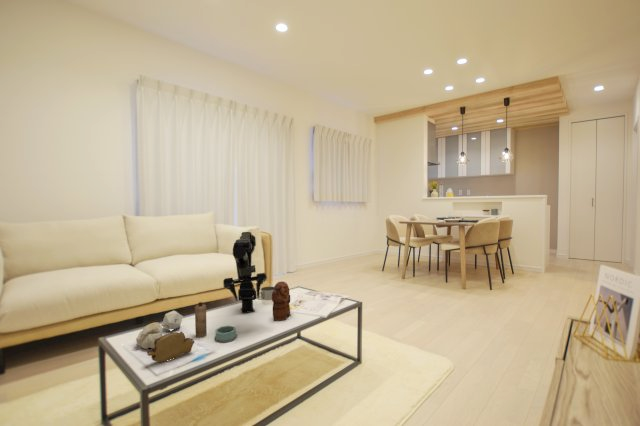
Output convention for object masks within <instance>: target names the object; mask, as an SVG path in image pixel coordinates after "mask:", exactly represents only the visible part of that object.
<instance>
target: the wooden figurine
mask: <svg viewBox="0 0 640 426" xmlns="http://www.w3.org/2000/svg"><path fill="white" fill-rule="evenodd" d="M271 302H272V303H273V304H272V318H273V321H276V322H280V321H286V320H287V319H288V318H289V317H290V315H291V307H290V303H291V294H290V288H289V285H288V283H287V282H286V281H278V282H276V284H275V285H274V288H273V290H272V292H271Z"/></svg>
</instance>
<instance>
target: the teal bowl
mask: <svg viewBox="0 0 640 426" xmlns="http://www.w3.org/2000/svg"><path fill="white" fill-rule="evenodd" d="M214 331H215V332H214V333H215V335H214V341H215V342H216V343H219V344H221V343H223V344H227V343H231V342H233V341H235V340H237V338H238V334H237V329H236V326H232V325H224V326H220V327H218V328H216V329H214Z"/></svg>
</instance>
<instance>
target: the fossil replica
mask: <svg viewBox="0 0 640 426" xmlns="http://www.w3.org/2000/svg"><path fill="white" fill-rule="evenodd" d="M161 325H162V324H160V323H159V322H158V321H156V322H155V321H154V322H152V323H151V322H150V323H149V324H146V325H145V326H144V327H143V328H142V330H141V331H139V333H138V335H137V337H136V344H137V345H139V346H140V347H141V348H143V350H144V349H145V350H149V348H150V349H153V348H154V347H155V345H154V342H155V340H156V339H158V338H160V337H161V336H163V326H161Z"/></svg>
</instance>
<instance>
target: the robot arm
mask: <svg viewBox="0 0 640 426" xmlns="http://www.w3.org/2000/svg"><path fill="white" fill-rule="evenodd" d="M256 239H257V238H256V236H255V235H253V234H252V232H251V231H243V232H241V235H240V236H239V239H236V240H235V242H234V243H233V247H232V255H233V258H234V260H235V264H236V266H235V267H236V273H237V278H236V279H234V278H233V277H227V278H224V279H223V281H222V284H223V288H224V289H226V290H229V291H230V293H231V294H232V296H233V297H234V300H235V301H236V302H238V301H239V302H240V301H241V308H240V311H241V313H243V314H245V313H246V314H247V313H252V312H255V309H254V301H256V300H257V298H259V296H260V290H261V285H262V284H264V283H265V282H266V281H267V278H268V277H267V273H265V272H261V273H257V274H256V275H254V276H252V275H253V274H254V273H256V265H255V264H254V265H253V264H252V259H253V258H252V257H253V256H252V255H253V253H254V252H255V249H256V248H255V247H256V245H257V240H256ZM252 273H253V274H252ZM255 281H256V283H255V285H254V283H253V282H255ZM236 284H239V288H238V291H237V292H236V287H235V285H236ZM255 287H256V288H255ZM237 294H238V295H237Z"/></svg>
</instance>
